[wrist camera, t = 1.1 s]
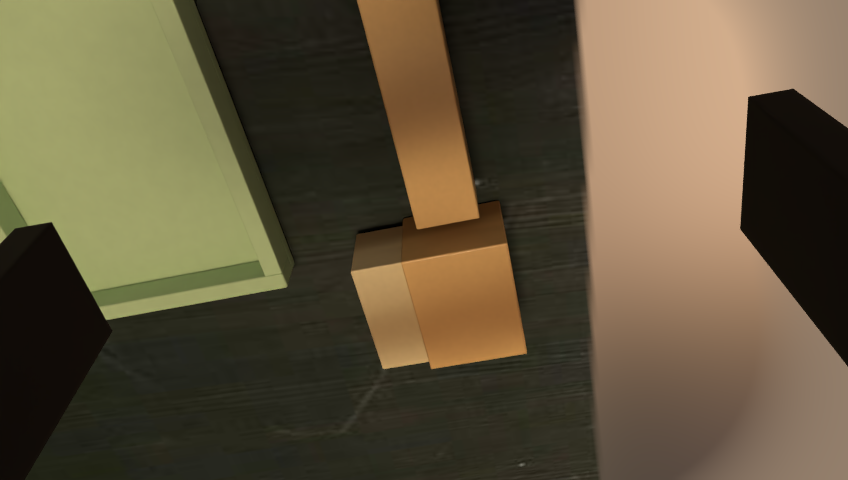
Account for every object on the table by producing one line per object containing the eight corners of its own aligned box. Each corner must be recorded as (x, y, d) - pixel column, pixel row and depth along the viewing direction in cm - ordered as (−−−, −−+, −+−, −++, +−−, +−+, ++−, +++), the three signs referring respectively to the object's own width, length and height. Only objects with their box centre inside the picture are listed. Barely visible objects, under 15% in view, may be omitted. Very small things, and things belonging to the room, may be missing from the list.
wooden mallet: (258, -79, 24) (235, -63, 21) (440, -124, 24) (443, -114, 21) (387, 327, 34) (383, 377, 31) (517, 304, 34) (527, 354, 30)
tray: (-277, -250, 22) (-335, -254, 20) (59, -351, 20) (27, -365, 19) (68, 304, 33) (49, 331, 32) (295, 262, 32) (287, 287, 31)
